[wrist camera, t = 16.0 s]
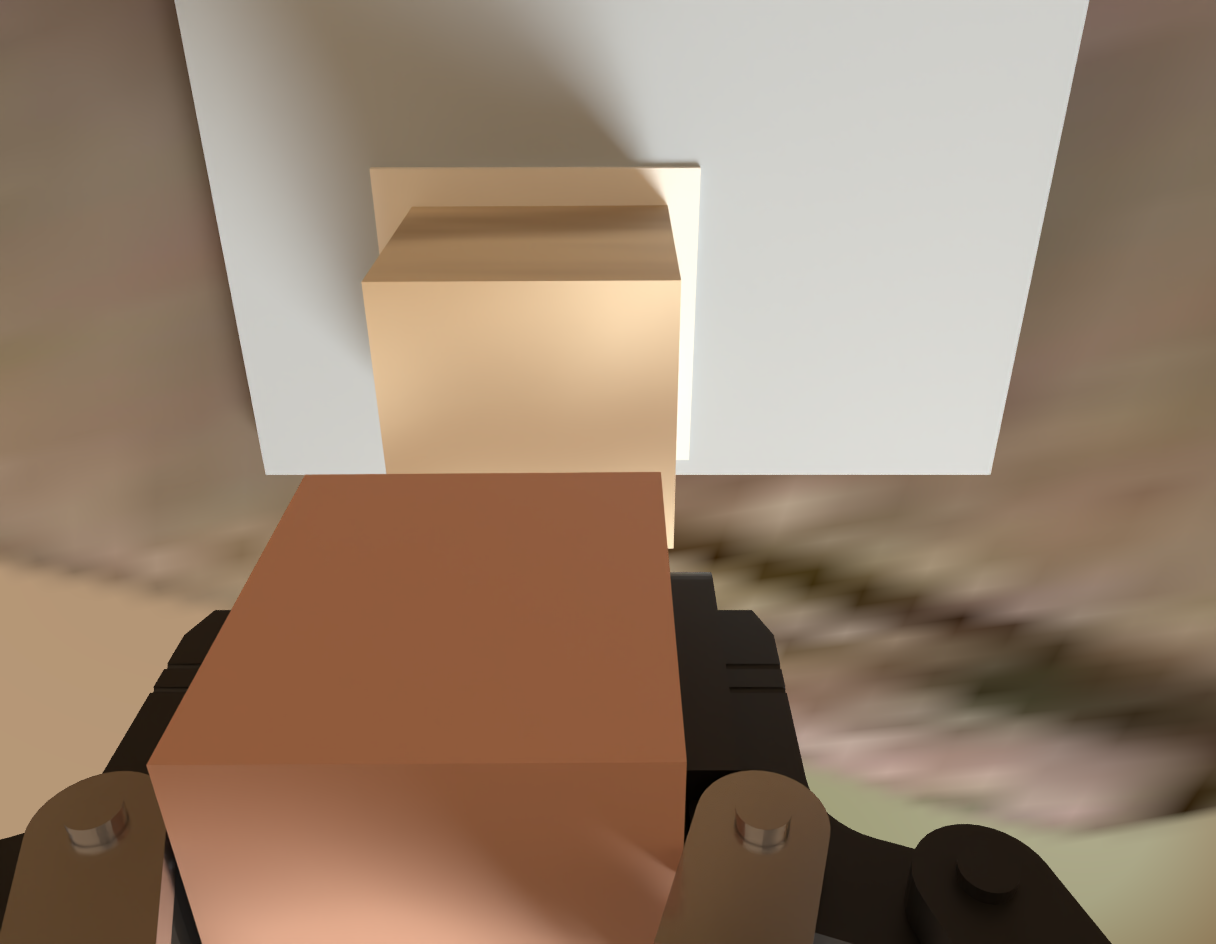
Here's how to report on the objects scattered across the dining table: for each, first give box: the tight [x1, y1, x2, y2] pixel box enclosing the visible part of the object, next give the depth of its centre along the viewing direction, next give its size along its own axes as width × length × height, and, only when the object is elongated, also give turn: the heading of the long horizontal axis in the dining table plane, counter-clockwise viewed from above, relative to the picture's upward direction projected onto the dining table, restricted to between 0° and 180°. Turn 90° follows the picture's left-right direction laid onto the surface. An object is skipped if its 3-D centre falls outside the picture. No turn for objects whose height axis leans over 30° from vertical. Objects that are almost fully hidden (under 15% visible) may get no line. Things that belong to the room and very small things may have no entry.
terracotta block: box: [146, 472, 687, 944], centre depth 12 cm, size 4×4×5 cm
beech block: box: [361, 205, 681, 548], centre depth 21 cm, size 6×6×5 cm
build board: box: [174, 0, 1089, 475], centre depth 23 cm, size 12×18×1 cm, turn 90°
